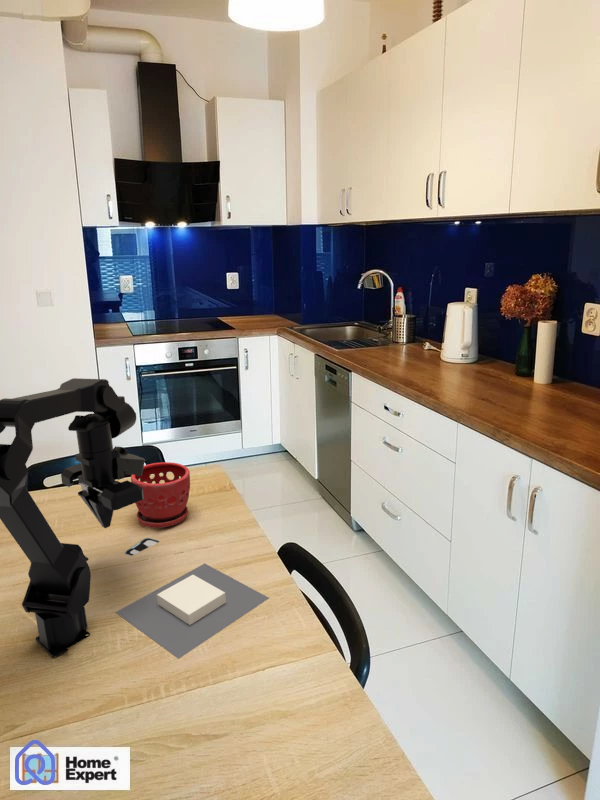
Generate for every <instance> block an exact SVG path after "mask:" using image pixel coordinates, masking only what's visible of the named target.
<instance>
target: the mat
mask: <svg viewBox="0 0 600 800" xmlns="http://www.w3.org/2000/svg"><path fill="white" fill-rule="evenodd" d="M191 575H195V576H196V577H198V578H200V579H202V580H204V581H205V582H207V583H209V584H211V585H212V586H214V587H216V588H218V589H220V590H221V591H223V592H225V596H226V603H224V604H223V605H221V606H220V607H218V608H216V609H215V610H213V611H212V612H210V613H209V614H207V615H205V616H204V617H202V618H201V619H199V620H197V621H196V622H194V623H193V624H191V625H189V624H187V623H186V622H184V621H183V620H181V619H180V618H178V617H177V616H175V615H173V614H172V613H170V612H169V611H167V610H166V609H164V608H163V607H161V606H160V605H158V600H157V594H159V593H161V592H162V591H164V590H166V589H168V588H170V587H171V586H173V585H175V584H177V583H179V582H180V581H182V580H184V579H186V578H188V577H189V576H191ZM269 599H270V597H269V596H267V595H265V594H263V593H261V592H259V591H257V590H255V589H253V588H252V587H251V586H248V585H246V584H244V583H243V582H240V581H239V580H237V579H236V578H235V579H234V578H233V577H231V576H229V575H228V574H225V573H223V572H221V571H219V569H216V568H214V567H212V566H210V565H208V564H206V563H203V564H201V565H199V566H197V567H195V568H194V569H192V570H190V571H188V572H186V573H184V574H183V575H181V576H179V577H178V578H175V579H173V580H172V581H170V582H168V583H166V584H164V585H162V586H161V587H159V588H157V589H154V591H151V592H150V593H148V594H146V595H145V596H142V597H141V598H138V599H137V600H135V601H133V602H131V603H130V604H128V605H125V606H124V607H122V608H121V609H118V610H117V611H115V612H114V613H115V614H117V615H118V616H119V617H121V618H123V620H125V621H126V622H128V623H129V624H130V625H132V626H133V627H134V628H136V629H137V630H139V631H140V632H141V633H142V634H144V635H145V636H147V637H148V638H150V639H151V640H152V641H154V642H155V643H156V644H158V645H159V646H160V647H162V648H163V649H164V650H166V651H167V652H169V654H171V655H172V656H174V657H175V658H177V659H178V660H179V659H181V658H182V657H184V656H185V655H186V654H188V653H190V652H191V651H193V650H194V649H196V648H197V647H199V646H200V645H201V644H203V643H205V642H206V641H208V640H209V639H210V638H212V637H214V636H215V635H216V634H218V633H219V632H221V631H222V630H224V629H226V628H227V627H228V626H230V625H232V624H233V623H234V622H236V621H238V620H239V619H241V618H243V616H246V614H248V613H249V612H251V611H253V609H255V608H257V607H259V606H260V605H261V604H263V603H264V602H265V601H267V600H269Z"/></svg>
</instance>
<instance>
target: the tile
mask: <svg viewBox="0 0 600 800" xmlns="http://www.w3.org/2000/svg"><path fill="white" fill-rule="evenodd" d="M157 600H158V605H160V606H161V607H163V608H164V609H166V610H167V611H169V612H170V613H172V614H173V615H175V616H177V617H178V618H180V619H181V620H183V621H184V622H186V623H187V624H189V625H191V624H193V623H194V622H196V621H197V620H199V619H201V618H202V617H204V616H205V615H207V614H209V613H210V612H212V611H213V610H215V609H216V608H218V607H220V606H221V605H223V604H224V603H226V596H225V592H223V591H221V590H220V589H218V588H216V587H214V586H212V585H211V584H209V583H207V582H205V581H204V580H202V579H200V578H198V577H196V576H195V575H191V576H189V577H188V578H186V579H184V580H182V581H180V582H179V583H177V584H175V585H173V586H171V587H170V588H168V589H166V590H164V591H162V592H161V593H159V594H157Z"/></svg>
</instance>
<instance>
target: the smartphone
mask: <svg viewBox="0 0 600 800" xmlns="http://www.w3.org/2000/svg"><path fill="white" fill-rule="evenodd" d="M160 542H161V541H160V540H157V539H154V538H152V537H146V538H143V539H141V540H140V541H139V542H138V543H136V544H134V545H133V546H131V547H130V548H128V549H127V550H125V551H124V554H125V555H126V556H129V557H132V556H135V555H137V554H138V553H140V552H143V551H144V550H146V549H148V548H151V547H153V546H154V545H156V544H158V543H160Z"/></svg>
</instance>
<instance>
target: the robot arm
mask: <svg viewBox="0 0 600 800" xmlns="http://www.w3.org/2000/svg"><path fill="white" fill-rule="evenodd" d="M125 400H126V399H125V396H120V395H119V396H118V394H117V393H116V392H115V390H114V389H113V387H112V386H111V385H110V382H109V380H108V379H105V378H77V377H75V378H71V379H68V380H67V381H65V382H62V383H61V384H60V386H59V388H57V389H53V390H49V391H42V392H38V393H33V394H28V395H23V396H17V397H13V398H2V399H0V434H1V433H2V432H4V431H5V429H6V427H10V428H14V429H15V431H14V432H15V436H14V438H13V441H12V443H11V444H10V443H9V444H7V443H5V444H4V443H0V521H1V523H2V524H3V525H4V526H5V528H6V529H7V531H8V532H9V534H10V536H12V538H13V539H14V540H15V543H16V544H18V546H19V548H20V549H21V551H22V552H23V554H25V556H26V558H28V561H29V562H30V566H29V569H28V573H27V575H28V578H29V580H30V581H29V583H28V587H27V590H26V591H25V594H24V597H23V601H22V603H21V607H22V608H23V609H24V611H25V612H26V613H28V614H30V613H34V616H35V621H36V625H37V631H38V636H36V637H35V642H36V643H37V644H38V645H39V646H40V647H41V648H42V649H43V650H44V651H46V653H47V654H49V655H50V656H51V657H52V658H56V657H58V656H60V655H62V654H63V653H66V652H68V651H69V648H71V647H73V646H74V645H76V644H78V643H80V642H82V641H83V640H85V639H87V638H88V637H90V636H91V632H89V631H88V630H87V629H88V626H89V625H88V622H87V614H86V613H87V612H86V607H85V606H86V605H87V604H88V603H89V602H90V595H91V594H90V592H91V591H90V590H91V578H92V577H91V570H90V566H89V563H88V561H89V557H87V556H86V555H85V554H84V551H83V549H82V547H81V546H80V545H79V544H74V543H65V542H64V543H63V542H60V540H59V538H58V537H57V535H56V533H55V532H54V530H53V529H52V527H51V526H50V524H49V522H48V521H47V519H46V517H45V516H44V514H43V513H42V511H41V510H40V508H39V506H38V505H37V502H35V500H34V499H33V497H32V495H31V493H30V492H29V491H28V489H27V487H26V483H27V479H28V475H29V470H28V469H29V468H28V467H27V465H26V464H27V461H28V460H29V458H30V456H31V453H32V452H33V450H34V446H33V435H32V433H33V432H32V430H33V428H34V426H35V424H37V423H41V422H44V421H48V420H51V419H55V418H59V417H62V416H66V415H70V414H73V413H82V412H83V413H88V414H86V415H77V414H76V415H75V416H74V418H73V420H72V421H71V422H70V424H69V426H68V428H67V429H68V431H71V432H72V431H73V432H76V439H77V446H78V447H77V448H78V453H76V454H74V457H75V458H74V459H75V461H77V462H79V463H78V464H75V465H74V464H73V465H71V466H69V467H66V468H64V469H63V471H62V472H61V474H60V477H61V484H62V485H64V486H66V487H68V488H70V487H72V486H73V485H74V481H76V480H78V485H80V488H81V490H80V491H78V492H77V495H78V496H79V497H80V498H81V499H82V501H83V503H85V505H86V506H87V507H88V509H89V510H90V511H91V513H92V514H93V515H94V517H95V518H96V520H97V521H98V523H99V524H100V525H101V527H102V528H104V529H106V528H107V529H108V528H109V527H111V525H112V518H113V515H114V511H118V510H121V509H123V508H126V507H128V506H130V505H133V504H135V503H136V502H138V501H141V500H143V498H144V497H143V488H141V487H140V486H138V485H136V484H134V483H132V482H131V480H130V481H129V480H128V479H127V480H124V481H121V482H120V481H119V480H122V479H125V475H129V476H131V475H137V476H142V473H143V468H144V466H145V463H146V459H145V458H144V457H141V456H139V455H137V454H131V453H129V452H128V451H127V449H126V447H125V448H124V447H122V446H116V445H115V446H114V444H113V439H115V438H117V437H119V436H121V435H122V434H124V433H125V432H126V431H128V430H130V429H132V428H133V426H135V424H136V422H137V413H136V412H135V410H134V408H133V407H132V406H131V405H130V403H127V401H125Z"/></svg>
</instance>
